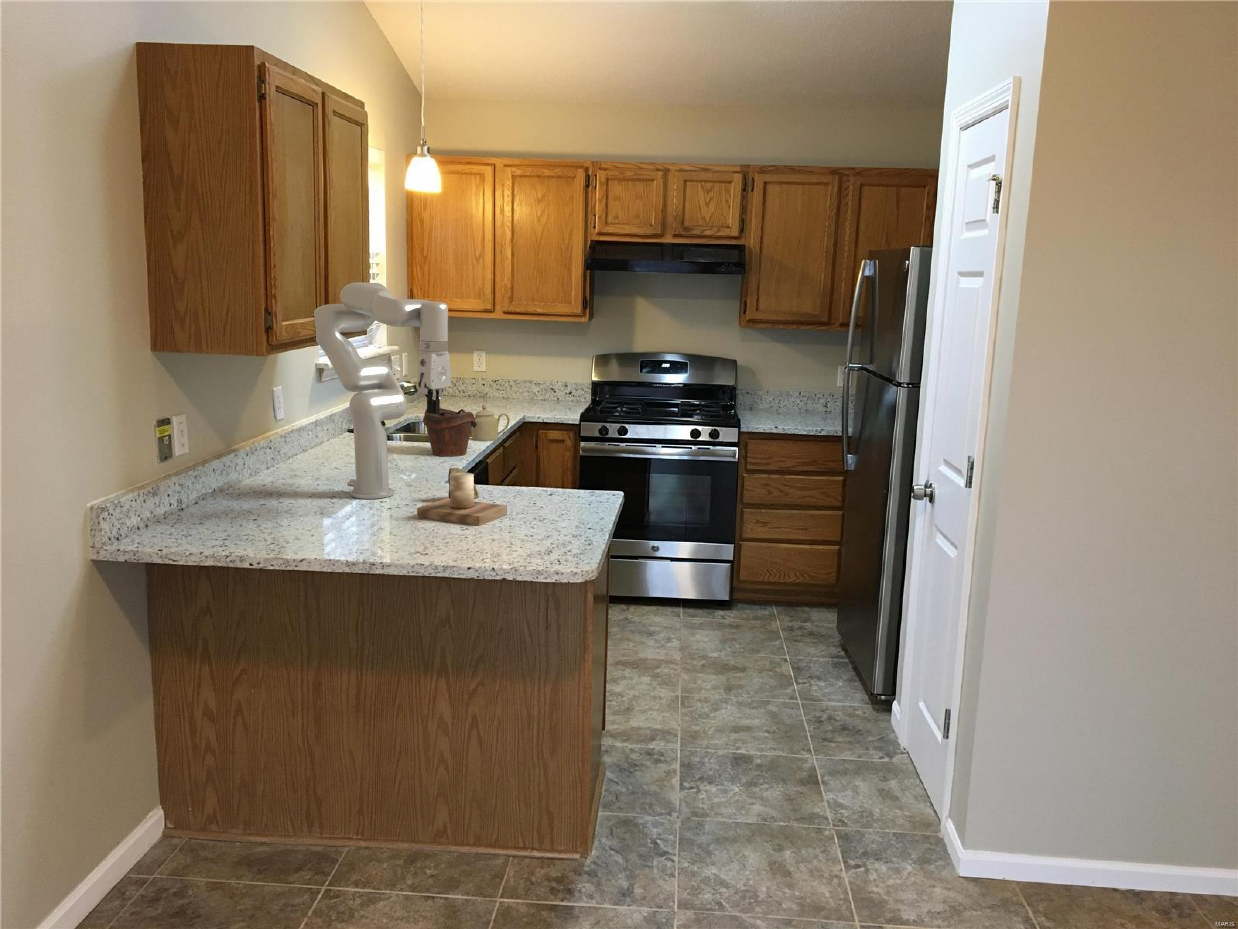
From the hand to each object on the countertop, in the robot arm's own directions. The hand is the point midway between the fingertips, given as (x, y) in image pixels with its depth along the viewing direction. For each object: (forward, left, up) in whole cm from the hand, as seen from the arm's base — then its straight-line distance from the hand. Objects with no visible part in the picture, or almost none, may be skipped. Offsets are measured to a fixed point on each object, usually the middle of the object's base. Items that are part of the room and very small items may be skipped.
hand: (433, 413), depth 261 cm
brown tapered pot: (-49, +77, -28) cm, 96 cm away
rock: (+1, +13, -28) cm, 30 cm away
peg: (+12, -4, -27) cm, 30 cm away
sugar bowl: (-56, +116, -28) cm, 132 cm away
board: (+12, -4, -27) cm, 30 cm away
